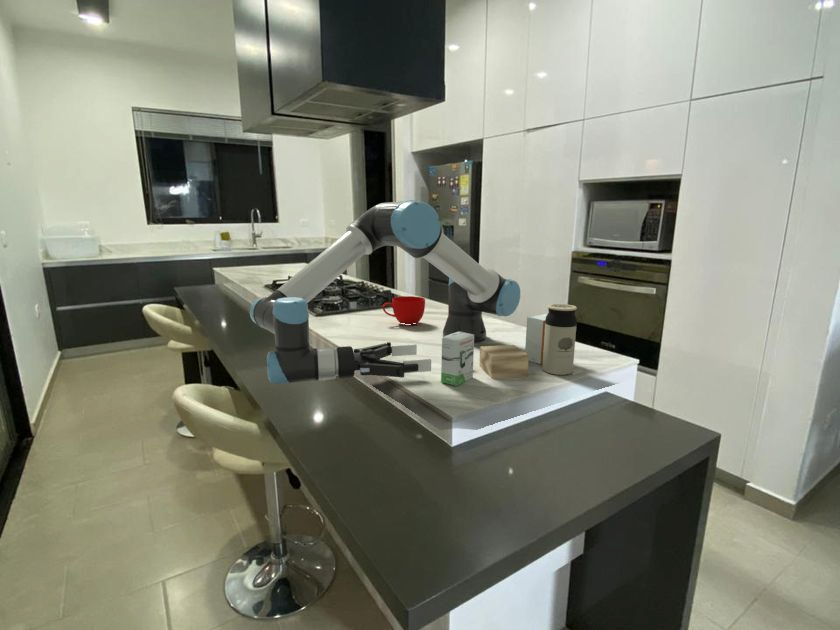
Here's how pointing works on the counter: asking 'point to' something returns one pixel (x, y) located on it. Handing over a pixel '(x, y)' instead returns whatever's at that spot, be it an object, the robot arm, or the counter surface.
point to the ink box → (457, 358)
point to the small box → (535, 338)
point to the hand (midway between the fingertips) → (423, 356)
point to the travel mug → (559, 339)
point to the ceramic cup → (407, 309)
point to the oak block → (503, 361)
